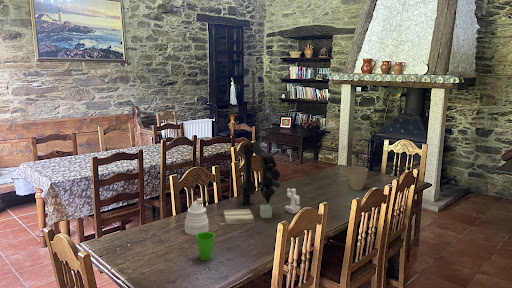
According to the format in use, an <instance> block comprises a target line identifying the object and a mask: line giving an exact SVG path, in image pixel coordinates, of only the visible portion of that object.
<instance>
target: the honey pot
mask: <svg viewBox="0 0 512 288" xmlns="http://www.w3.org/2000/svg"><path fill="white" fill-rule="evenodd" d="M202 201H203V198H197V199H196V200H194V201H193V202H192V203H191V205H190V207H189V208H188V209H187V214H186V217H185V220H184V232H185V233H186V234H188V235H190V234H191V235H192V236H196V235H197V234H198V233H200V232H209V219H208V216H207V213H206V212H207V208H206V207H204V206H203V205H202ZM191 235H190V236H191Z"/></svg>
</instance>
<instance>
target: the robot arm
mask: <svg viewBox="0 0 512 288" xmlns="http://www.w3.org/2000/svg"><path fill="white" fill-rule="evenodd" d="M240 154H241V156H242V157H243V178H244V179H243V182H242V183H241V188H240V189H239V190H238V193H239V196H241V199H242V200H241V201H240V202H241V205H242V206H247V205H248V206H249V205H253V203H252V200H251V199H252V195H254V194H255V192H256V183H255V182H254V181H253V177H252V174H253V172H252V170H253V169H252V168H253V167H252V158H253V156H254V154H255V155H256V156H257V158H259V163H260V164H261V165H260V168H261V177H260V179H261V180H260V181H259V182H258V188H259V190H260V193H261V195H262V198H263V199H264V200H265V202H266V205H270V204H269V203H270V200H271V197H272V196H274V195H276V193H275V192H276V190H275V189H274V188H276V189H280V188H281V185H282V183H281V182H280V181H279V179H280V177H281V174H280V171H279V170H278V168H277V162H276V161H275V158H274V156H273V155H272V154H271V153H269V152H268V153H267V152H266V151H265V150H264V149H263V148H262V147H261V146H260V145H259V143H258V142H256V141H253V142H251V141H250V142H248V143H246V144H242V145H241V146H240ZM273 187H274V188H273Z"/></svg>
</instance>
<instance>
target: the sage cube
mask: <svg viewBox="0 0 512 288" xmlns="http://www.w3.org/2000/svg"><path fill="white" fill-rule="evenodd" d="M272 212H273V208H272V206H271V204H261V205H259V216H260V217H261V219H269V218H270V219H271V218H272V217H273V216H272V215H273V213H272Z"/></svg>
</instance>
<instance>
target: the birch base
mask: <svg viewBox="0 0 512 288" xmlns="http://www.w3.org/2000/svg"><path fill="white" fill-rule="evenodd" d="M223 217H224V221H225V223H226V225H235V224H236V225H240V224H254V223H255V218H254V216H253V214H252V211H251V209H248V208H247V209H224V210H223Z"/></svg>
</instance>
